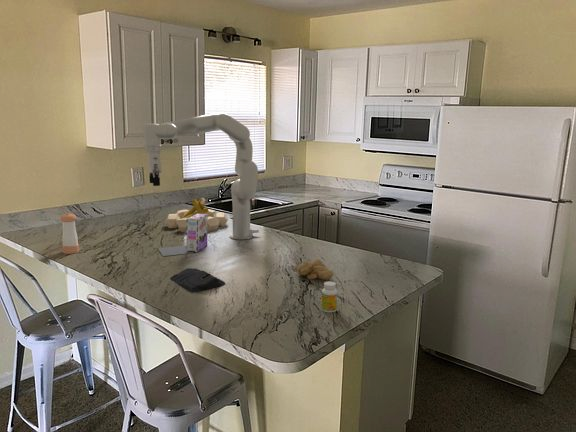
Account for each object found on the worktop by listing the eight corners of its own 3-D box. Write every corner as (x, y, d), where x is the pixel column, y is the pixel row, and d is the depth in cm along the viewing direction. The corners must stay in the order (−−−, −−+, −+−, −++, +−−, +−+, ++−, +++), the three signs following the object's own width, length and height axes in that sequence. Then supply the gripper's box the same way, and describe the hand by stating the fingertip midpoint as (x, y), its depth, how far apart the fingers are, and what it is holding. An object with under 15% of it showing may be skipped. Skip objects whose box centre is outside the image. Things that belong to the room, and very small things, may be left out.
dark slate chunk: (200, 272, 207) (199, 261, 206) (228, 286, 190) (228, 275, 189) (167, 279, 197) (166, 268, 196) (193, 295, 181) (193, 283, 180)
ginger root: (292, 267, 210) (297, 250, 208) (328, 276, 210) (333, 259, 208) (291, 280, 195) (296, 262, 193) (329, 290, 195) (335, 272, 193)
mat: (185, 246, 244) (185, 245, 244) (192, 253, 232) (192, 252, 232) (157, 248, 238) (157, 248, 238) (163, 256, 226) (163, 255, 226)
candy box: (197, 252, 233) (197, 219, 229) (186, 251, 234) (185, 218, 230) (207, 245, 246) (208, 213, 243) (196, 244, 247) (197, 212, 244)
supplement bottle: (319, 311, 167) (320, 284, 165) (323, 305, 172) (324, 279, 170) (334, 313, 165) (335, 287, 163) (338, 308, 170) (339, 281, 168)
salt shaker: (73, 254, 227) (69, 214, 223) (59, 253, 229) (55, 213, 225) (82, 250, 234) (79, 211, 230) (69, 249, 236) (65, 210, 232)
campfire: (237, 226, 288) (237, 198, 284) (191, 237, 263) (191, 206, 259) (200, 217, 311) (200, 191, 307) (155, 226, 286) (154, 198, 282)
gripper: (164, 150, 228) (165, 186, 232) (157, 148, 244) (159, 181, 247) (148, 151, 225) (149, 187, 229) (142, 148, 241) (144, 182, 244)
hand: (154, 184), depth 238 cm, fingers open, 9 cm apart
